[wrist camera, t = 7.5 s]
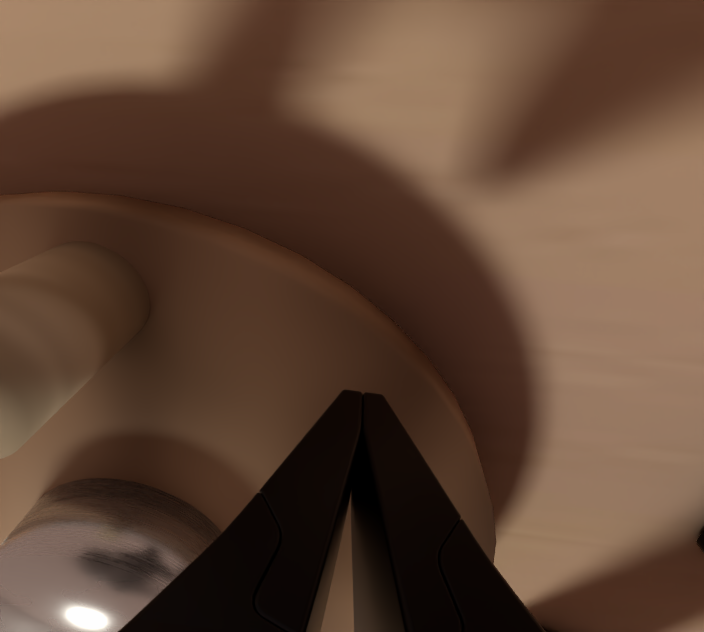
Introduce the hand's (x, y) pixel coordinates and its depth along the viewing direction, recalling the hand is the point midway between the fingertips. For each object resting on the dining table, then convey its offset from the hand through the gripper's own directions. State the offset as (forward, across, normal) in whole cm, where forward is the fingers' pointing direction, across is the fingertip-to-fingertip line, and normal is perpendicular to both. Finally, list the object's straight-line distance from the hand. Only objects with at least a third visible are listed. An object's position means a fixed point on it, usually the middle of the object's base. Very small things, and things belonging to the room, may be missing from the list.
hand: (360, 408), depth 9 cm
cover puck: (+2, +7, +9) cm, 11 cm away
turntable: (+4, +7, +9) cm, 12 cm away
